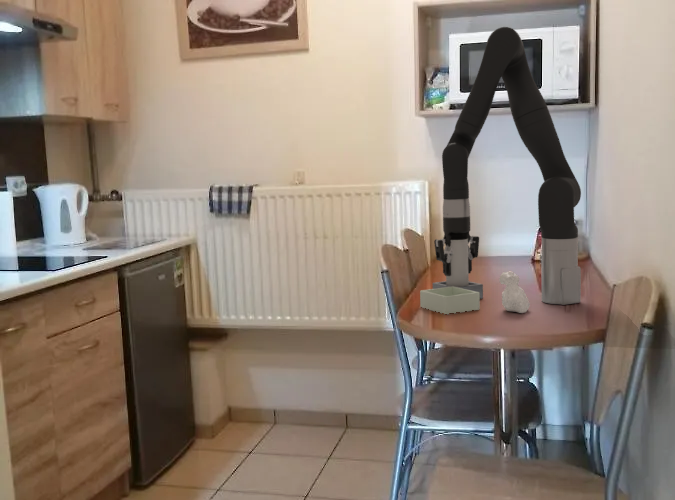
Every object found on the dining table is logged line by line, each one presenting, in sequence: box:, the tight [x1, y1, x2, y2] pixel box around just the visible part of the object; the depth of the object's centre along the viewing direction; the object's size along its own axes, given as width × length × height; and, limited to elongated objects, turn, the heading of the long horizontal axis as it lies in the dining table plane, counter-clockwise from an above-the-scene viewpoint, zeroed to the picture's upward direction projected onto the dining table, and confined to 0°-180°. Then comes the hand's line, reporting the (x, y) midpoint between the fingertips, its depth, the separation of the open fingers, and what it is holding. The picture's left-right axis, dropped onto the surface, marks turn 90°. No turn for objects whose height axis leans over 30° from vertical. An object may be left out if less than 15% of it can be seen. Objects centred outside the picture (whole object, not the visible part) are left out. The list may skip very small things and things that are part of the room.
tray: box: [419, 286, 481, 315], centre depth 185 cm, size 12×11×4 cm
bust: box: [498, 270, 530, 314], centre depth 179 cm, size 12×8×11 cm
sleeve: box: [432, 280, 484, 300], centre depth 199 cm, size 11×10×4 cm
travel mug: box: [444, 232, 470, 287], centre depth 198 cm, size 6×7×20 cm
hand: (457, 274), depth 199 cm, fingers closed on travel mug, 6 cm apart
